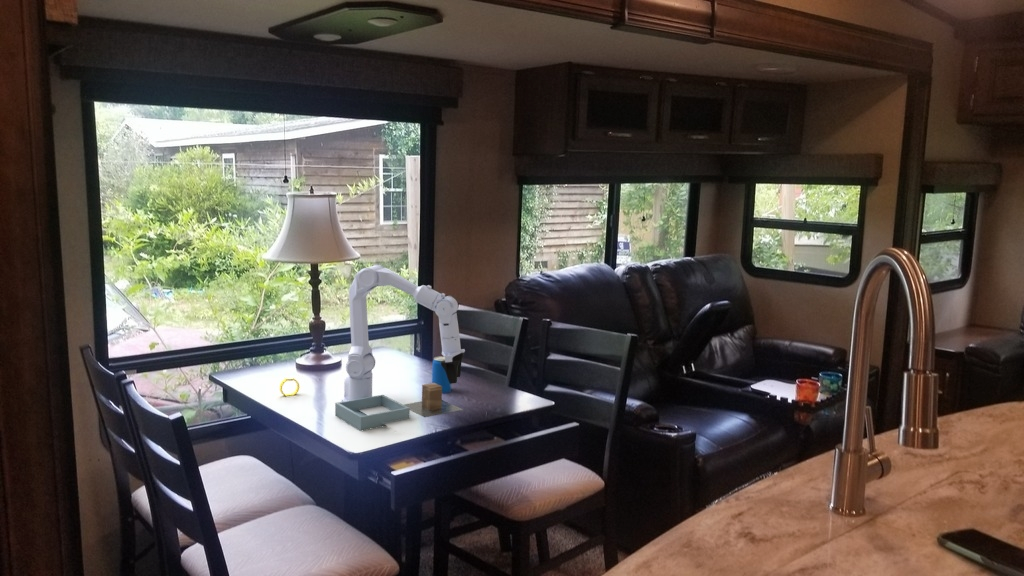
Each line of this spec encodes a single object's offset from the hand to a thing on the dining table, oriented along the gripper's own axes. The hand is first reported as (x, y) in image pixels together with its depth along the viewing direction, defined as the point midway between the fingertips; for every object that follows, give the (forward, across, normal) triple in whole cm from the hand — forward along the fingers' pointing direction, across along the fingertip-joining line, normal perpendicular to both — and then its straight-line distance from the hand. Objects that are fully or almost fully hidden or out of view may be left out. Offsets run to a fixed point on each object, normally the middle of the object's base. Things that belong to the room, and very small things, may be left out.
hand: (455, 380), depth 226 cm
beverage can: (+9, +20, +9) cm, 24 cm away
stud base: (+9, +1, +9) cm, 13 cm away
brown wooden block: (+8, +1, +8) cm, 12 cm away
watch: (+2, +8, +56) cm, 57 cm away
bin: (+7, -10, +24) cm, 27 cm away
